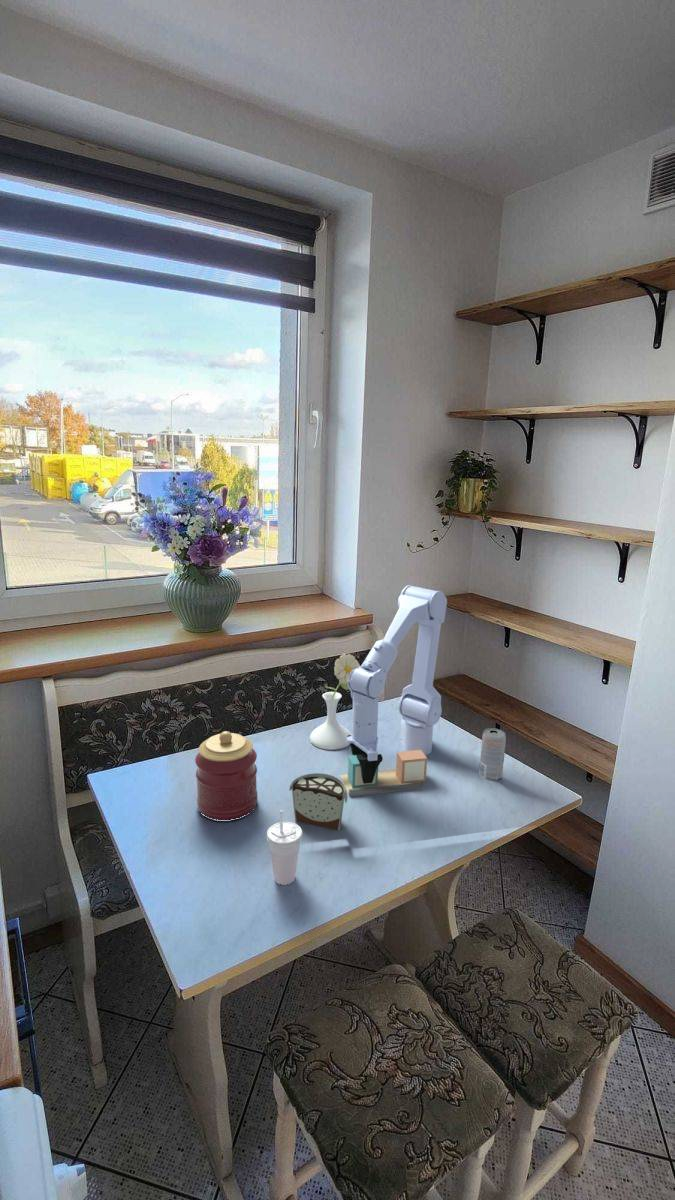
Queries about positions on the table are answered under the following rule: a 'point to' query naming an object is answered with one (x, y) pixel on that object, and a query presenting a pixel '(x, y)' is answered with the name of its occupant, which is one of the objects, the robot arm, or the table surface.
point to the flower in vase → (331, 731)
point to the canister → (226, 776)
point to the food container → (319, 800)
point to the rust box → (411, 766)
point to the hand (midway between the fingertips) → (363, 773)
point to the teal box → (358, 773)
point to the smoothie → (284, 849)
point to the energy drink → (492, 754)
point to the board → (381, 784)
